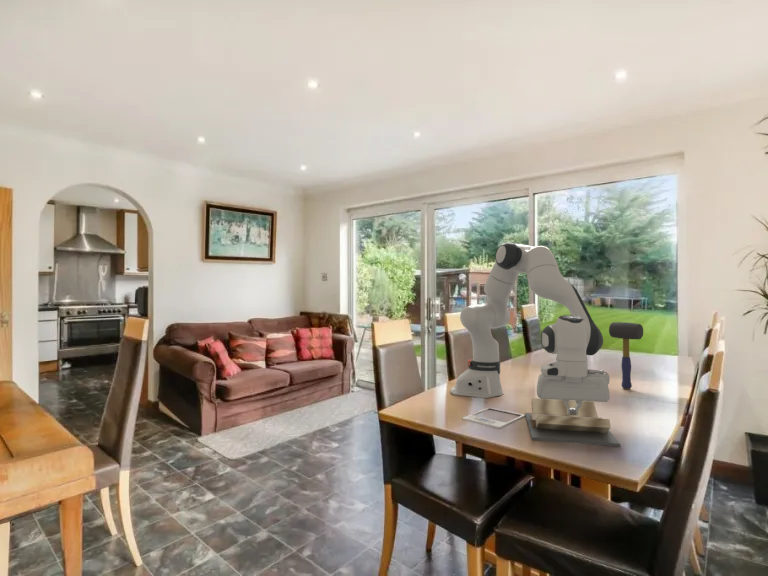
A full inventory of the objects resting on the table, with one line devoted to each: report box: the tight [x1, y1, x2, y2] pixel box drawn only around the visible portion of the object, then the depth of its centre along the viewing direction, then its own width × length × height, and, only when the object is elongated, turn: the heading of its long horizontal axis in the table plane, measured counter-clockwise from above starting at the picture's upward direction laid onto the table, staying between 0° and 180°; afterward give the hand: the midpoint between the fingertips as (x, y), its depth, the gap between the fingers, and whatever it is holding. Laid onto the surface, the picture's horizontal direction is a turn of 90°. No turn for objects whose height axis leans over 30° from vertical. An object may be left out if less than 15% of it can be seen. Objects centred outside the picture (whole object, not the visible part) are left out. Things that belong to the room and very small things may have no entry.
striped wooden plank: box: [529, 412, 608, 433], centre depth 136 cm, size 22×7×2 cm, turn 76°
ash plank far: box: [531, 398, 599, 418], centre depth 143 cm, size 20×7×2 cm, turn 76°
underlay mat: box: [524, 412, 621, 447], centre depth 136 cm, size 24×26×1 cm
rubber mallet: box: [608, 321, 644, 390], centre depth 188 cm, size 12×8×30 cm, turn 37°
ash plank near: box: [536, 415, 612, 433], centre depth 129 cm, size 20×7×2 cm, turn 76°
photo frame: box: [461, 407, 526, 429], centre depth 148 cm, size 15×1×18 cm
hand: (572, 414), depth 128 cm, fingers closed
